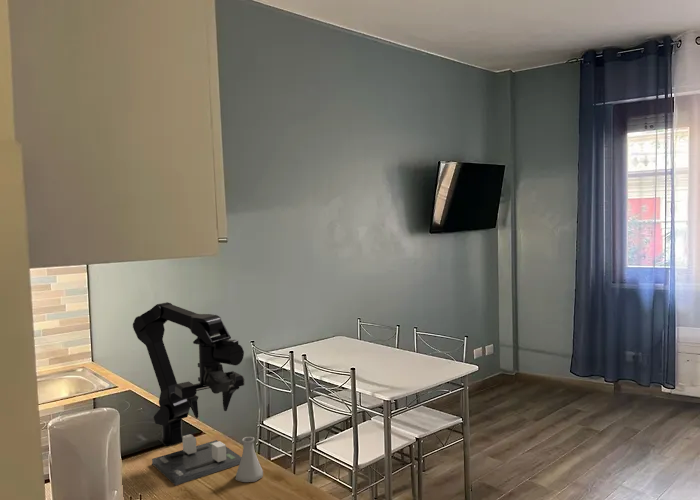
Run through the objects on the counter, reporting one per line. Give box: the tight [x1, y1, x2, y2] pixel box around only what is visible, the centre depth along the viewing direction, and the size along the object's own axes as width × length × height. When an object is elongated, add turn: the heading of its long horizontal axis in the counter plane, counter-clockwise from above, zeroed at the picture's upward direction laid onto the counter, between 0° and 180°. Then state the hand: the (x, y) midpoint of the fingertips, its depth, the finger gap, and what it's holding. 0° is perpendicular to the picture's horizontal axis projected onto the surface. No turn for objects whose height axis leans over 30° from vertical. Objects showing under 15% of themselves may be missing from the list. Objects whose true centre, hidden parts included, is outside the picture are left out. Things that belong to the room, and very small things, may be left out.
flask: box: [235, 436, 264, 483], centre depth 147 cm, size 7×7×10 cm
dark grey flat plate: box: [151, 439, 242, 486], centre depth 156 cm, size 16×19×2 cm
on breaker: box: [212, 440, 227, 462], centre depth 154 cm, size 4×2×4 cm, turn 39°
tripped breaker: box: [182, 433, 197, 454], centre depth 159 cm, size 4×2×4 cm, turn 39°
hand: (211, 414), depth 163 cm, fingers open, 8 cm apart
